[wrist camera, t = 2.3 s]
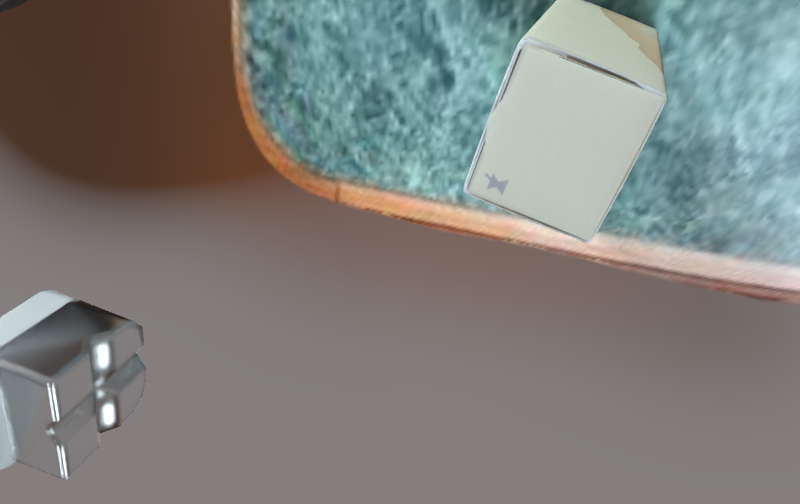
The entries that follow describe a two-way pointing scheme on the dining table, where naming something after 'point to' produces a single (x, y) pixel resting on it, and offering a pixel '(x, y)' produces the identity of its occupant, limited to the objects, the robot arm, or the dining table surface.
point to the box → (570, 118)
